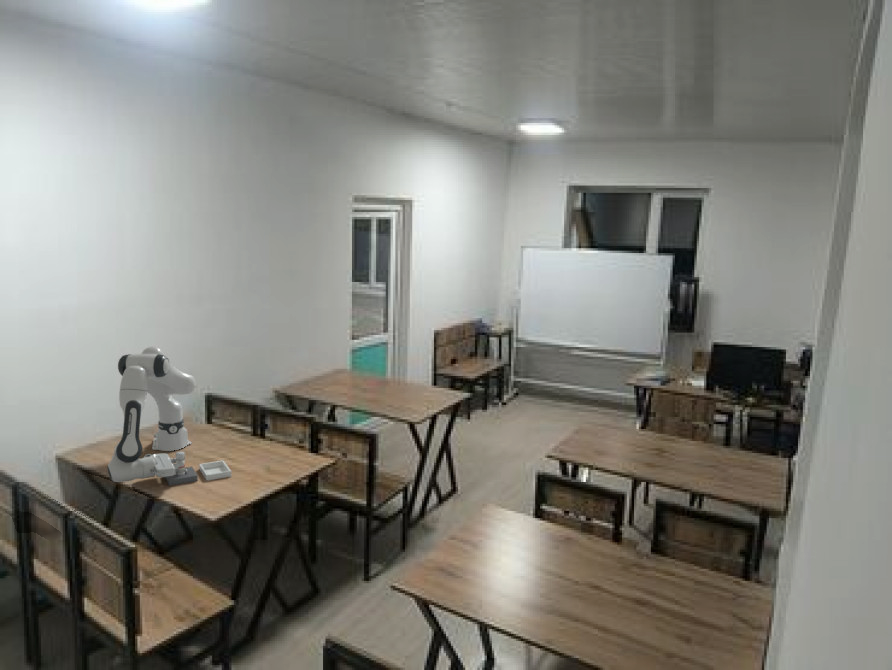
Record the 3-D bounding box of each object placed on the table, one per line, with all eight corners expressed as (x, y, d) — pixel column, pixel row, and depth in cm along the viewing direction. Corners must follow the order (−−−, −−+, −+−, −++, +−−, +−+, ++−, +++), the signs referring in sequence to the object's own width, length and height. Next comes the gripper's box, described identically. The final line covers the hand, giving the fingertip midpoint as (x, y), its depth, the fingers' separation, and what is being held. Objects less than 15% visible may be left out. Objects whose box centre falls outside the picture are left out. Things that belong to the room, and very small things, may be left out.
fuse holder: (164, 478, 297) (164, 468, 296) (192, 473, 304) (191, 463, 303) (169, 487, 287) (168, 477, 286) (197, 482, 294) (197, 473, 293)
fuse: (175, 477, 296) (174, 452, 294) (184, 475, 298) (183, 451, 296) (177, 480, 293) (176, 455, 291) (186, 478, 295) (185, 453, 293)
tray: (199, 471, 307) (199, 464, 306) (223, 467, 312) (223, 460, 312) (206, 482, 294) (206, 475, 294) (231, 478, 300) (231, 471, 299)
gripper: (152, 468, 278) (186, 463, 285) (145, 453, 295) (178, 448, 302) (153, 482, 279) (187, 476, 286) (146, 466, 296) (178, 461, 303)
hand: (182, 462), depth 294 cm, fingers closed on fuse, 3 cm apart
